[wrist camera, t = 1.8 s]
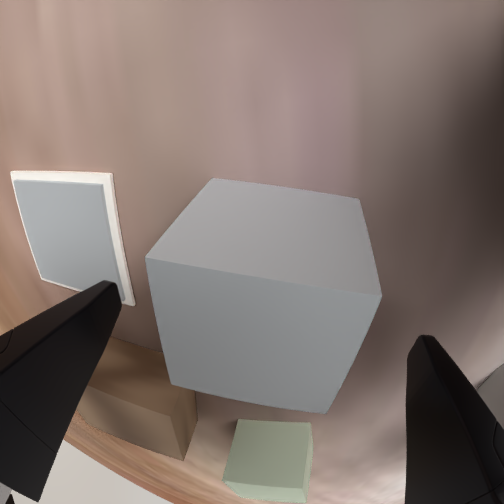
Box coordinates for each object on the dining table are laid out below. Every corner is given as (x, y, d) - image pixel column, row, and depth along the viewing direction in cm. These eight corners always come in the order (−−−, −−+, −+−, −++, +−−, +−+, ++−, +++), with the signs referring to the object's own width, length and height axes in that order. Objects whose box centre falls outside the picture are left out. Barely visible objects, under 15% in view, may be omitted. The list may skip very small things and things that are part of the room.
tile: (112, 173, 11) (106, 176, 11) (135, 303, 15) (132, 309, 15) (12, 170, 12) (7, 173, 12) (43, 277, 16) (39, 281, 15)
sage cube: (310, 421, 18) (302, 488, 14) (313, 447, 21) (306, 503, 17) (238, 417, 20) (221, 480, 16) (252, 444, 22) (240, 497, 18)
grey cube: (358, 197, 10) (382, 296, 6) (330, 308, 13) (326, 414, 9) (212, 177, 11) (144, 257, 7) (213, 288, 13) (171, 384, 9)
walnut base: (193, 357, 17) (170, 416, 14) (198, 417, 21) (183, 461, 18) (79, 321, 18) (47, 365, 14) (107, 386, 22) (87, 423, 19)
